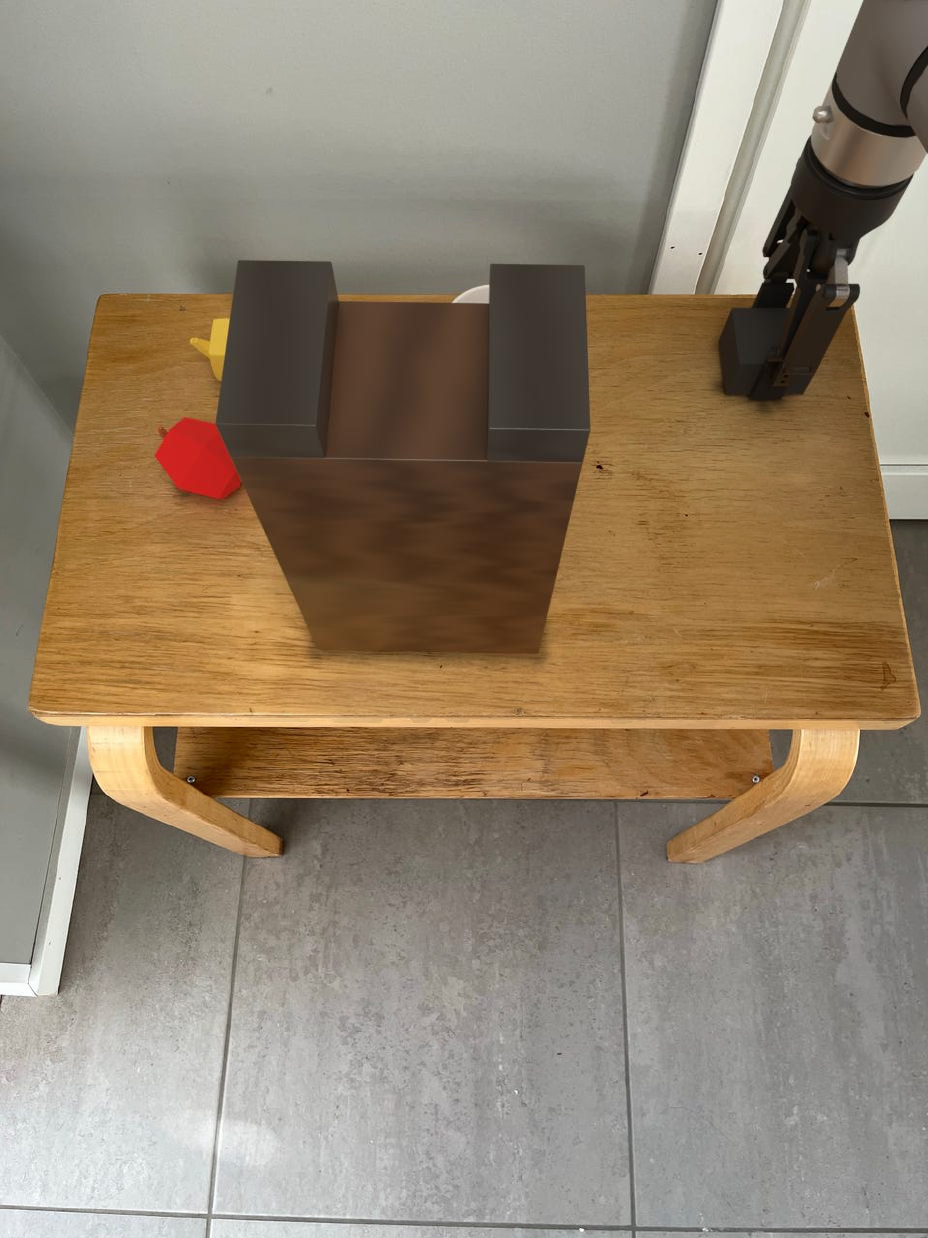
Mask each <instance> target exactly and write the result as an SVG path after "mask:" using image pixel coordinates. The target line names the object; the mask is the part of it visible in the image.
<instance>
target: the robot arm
mask: <svg viewBox="0 0 928 1238" xmlns="http://www.w3.org/2000/svg"><path fill="white" fill-rule="evenodd" d="M840 55H841V56H840V58H839V61H838V63H837V66H836V70H835V72H834V73H833V78H832V80H831V82H830V85H829V87H828V90H827V92H826V94H825V97H824V100H823V101H822V104H821V105H818V106H816V107H815V108H814V109H813V113H812V120H813V121H814V124H813V127H812V128H811V133H810V135H809V137H808V138H807V140H806V142H805V143H804V146H803V149H802V151H801V154H800V156H799V157H798V158H797V162H796V163H795V168H794V171H793V174H792V177H791V180H790V185H789V187H788V189H787V192H786V194H785V197H784V198H783V201H782V204H781V206H780V208H779V210H778V212H777V215H776V217H775V219H774V221H773V224H772V226H771V228H770V230H769V232H768V235H767V237H766V239H765V242H764V243H763V247H762V249H761V253H762V257H763V258H768V260H767V262H766V263H765V264H764V266H763V269H762V276H763V277H762V278H763V282H761V284H760V287H759V289H758V292H757V294H756V296H755V299H754V301H753V303H752V306H751V308H788V305H789V303H790V301H791V303H790V305H789V308H790V309H789V312H788V315H787V319H786V322H785V325H784V328H783V332H782V335H781V338H780V342H779V345H778V346H772V348H771V350H768V352H767V358H766V360H765V362H764V365H763V367H762V369H761V371H760V373H759V375H758V377H757V379H756V381H755V383H754V385H753V388H752V390H751V392H750V395H749V397H750V401H781V400H782V398H783V397H784V396H785V395H784V393H785V391H786V389H787V388H788V386H789V385H790V383H791V381H792V379H793V377H794V376H795V375H814V376H815V375H816V372H817V371H818V369H819V367H820V365H821V364H820V363H821V362H822V360H823V359H824V356H825V355H826V353H827V350H828V349H829V347H830V345H831V343H832V341H833V340H834V337H835V335H836V333H837V331H838V329H839V328H840V325H841V323H842V322H843V320H844V318H845V316H846V314H847V311H848V310H849V309H850V308H851V307H852V306H853V305H855V303H856V302H857V301H858V300H859V298H860V294H861V286H860V283H849V266H850V265H851V264H852V263H853V262H854V260H855V258H856V254H857V251H858V248H859V245H860V241H861V239H862V238H863V237H865V236H866V235H867V234H869V233H870V232H873V231H874V230H876V229H878V228H879V227H880V226H882V225H883V224H885V223H886V222H887V221H888V220H889V219H890V218H891V217H892V215H893V214H894V212H895V210H896V209H897V207H898V206H899V203H900V201H901V200H902V198H903V196H904V194H905V193H906V191H907V189H908V188H909V186H910V184H911V182H912V180H913V178H914V175H915V173H916V172H917V171H918V170H919V169H920V167H921V166H922V163H923V161H924V159H925V158H926V156H927V155H928V0H862V2H861V5H860V7H859V10H858V13H857V15H856V18H855V20H854V22H853V25H852V28H851V30H850V33H849V35H848V38H847V40H846V43H845V46H844V47H843V50H842V53H841V54H840ZM788 280H794V282H788ZM795 284H796V286H795ZM819 364H820V365H819ZM818 366H819V367H818ZM817 368H818V369H817ZM816 370H817V371H816Z"/></svg>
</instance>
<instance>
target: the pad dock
mask: <svg viewBox="0 0 928 1238" xmlns="http://www.w3.org/2000/svg"><path fill="white" fill-rule="evenodd" d="M236 262H237V263H236V270H235V278H234V284H233V291H232V297H231V298H232V300H231V305H230V315H229V318H230V320H229V328H228V335H227V342H226V350H225V357H224V364H223V372H222V379H221V381H220V386H219V394H218V403H217V408H216V417H215V422H214V423H215V424H216V427H217V429H218V431H219V433H220V435H221V438H222V440H223V442H224V444H225V446H226V449H227V451H228V453H229V455H230V457H231V460H232V462H233V464H234V466H235V468H236V471H237V473H238V475H239V477H240V479H241V484H242V486H243V488H244V491H245V493H246V495H247V497H248V499H249V501H250V504H251V506H252V508H253V510H254V512H255V514H256V516H257V519H258V521H259V523H260V525H261V528H262V530H263V533H264V535H265V536H266V538H267V542H268V543H269V546H270V547H271V550H272V552H273V554H274V556H275V559H276V560H277V564H278V565H279V567H280V570H281V571H282V574H283V576H284V578H285V580H286V582H287V585H288V587H289V589H290V592H291V593H292V595H293V598H294V601H295V602H296V604H297V607H298V609H299V611H300V613H301V616H302V618H303V620H304V622H305V624H306V626H307V629H308V631H309V633H310V635H311V637H312V640H313V642H314V644H315V646H316V648H317V650H318V651H353V652H355V651H356V652H358V651H360V652H408V653H409V652H411V653H412V652H414V653H415V652H416V653H417V652H418V653H462V654H463V653H465V654H466V653H470V654H471V653H473V654H518V655H519V654H521V655H523V654H525V655H527V654H530V655H538V654H539V652H540V648H541V644H542V640H543V636H544V631H545V628H546V627H545V626H546V623H547V618H548V613H549V610H550V606H551V602H552V597H553V592H554V588H555V584H556V580H557V575H558V571H559V568H560V562H561V559H562V553H563V549H564V546H565V541H566V537H567V533H568V529H569V523H570V520H571V517H572V511H573V507H574V503H575V498H576V493H577V490H578V485H579V481H580V477H581V473H582V468H583V464H584V460H585V455H586V452H587V448H588V447H587V446H588V442H589V438H590V435H591V406H590V403H591V401H590V380H589V378H590V376H589V374H590V373H589V351H588V322H587V321H588V320H587V319H588V318H587V317H588V316H587V290H586V289H587V288H586V267H585V265H584V264H548V263H547V264H543V263H541V264H540V263H534V264H533V263H490V265H489V283H488V285H489V303H452V302H435V301H434V302H433V301H432V302H431V301H430V302H426V301H424V302H423V301H370V300H369V301H367V300H366V301H364V300H363V301H362V300H361V301H360V300H352V301H351V300H339V293H338V289H337V284H336V278H335V273H334V268H333V263H332V261H331V260H330V261H329V260H327V261H326V260H265V259H264V260H262V259H261V260H260V259H258V260H257V259H238V260H237V261H236Z"/></svg>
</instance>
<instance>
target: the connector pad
mask: <svg viewBox="0 0 928 1238" xmlns="http://www.w3.org/2000/svg"><path fill="white" fill-rule="evenodd" d="M789 309H790V307H786V308H752V307H731V309H730V311H729V314H728V317H727V318H726V322H725V324H724V327H723V329H722V332H721V334H720V336H719V338H718V346H719V353H720V362H721V369H722V376H723V383H724V384H723V385H724V392H725V396H750V392H751V390H752V388H753V385H754V383H755V381H756V379H757V377H758V375H759V373H760V371H761V369H762V367H763V365H764V362H765V360H766V358H767V352H768V350H771V348H772V346H778V345H779V342H780V338H781V335H782V332H783V328H784V325H785V322H786V319H787V315H788V312H789ZM820 366H821V363H820V364H819V366H818V368H817V370H816V372H817V371H818V369H819V367H820ZM814 376H815V374H814V375H795V376H794V377H793V379H792V381H791V383H790V385H789V386H788V388H787V389H786V391H785V393H784V395H783V396H785V395H787V396H788V395H800V396H801V395H804V393H805V392H806V390H807V388H808V387H809V385H810V383H811V381H812V379H813V377H814Z"/></svg>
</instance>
